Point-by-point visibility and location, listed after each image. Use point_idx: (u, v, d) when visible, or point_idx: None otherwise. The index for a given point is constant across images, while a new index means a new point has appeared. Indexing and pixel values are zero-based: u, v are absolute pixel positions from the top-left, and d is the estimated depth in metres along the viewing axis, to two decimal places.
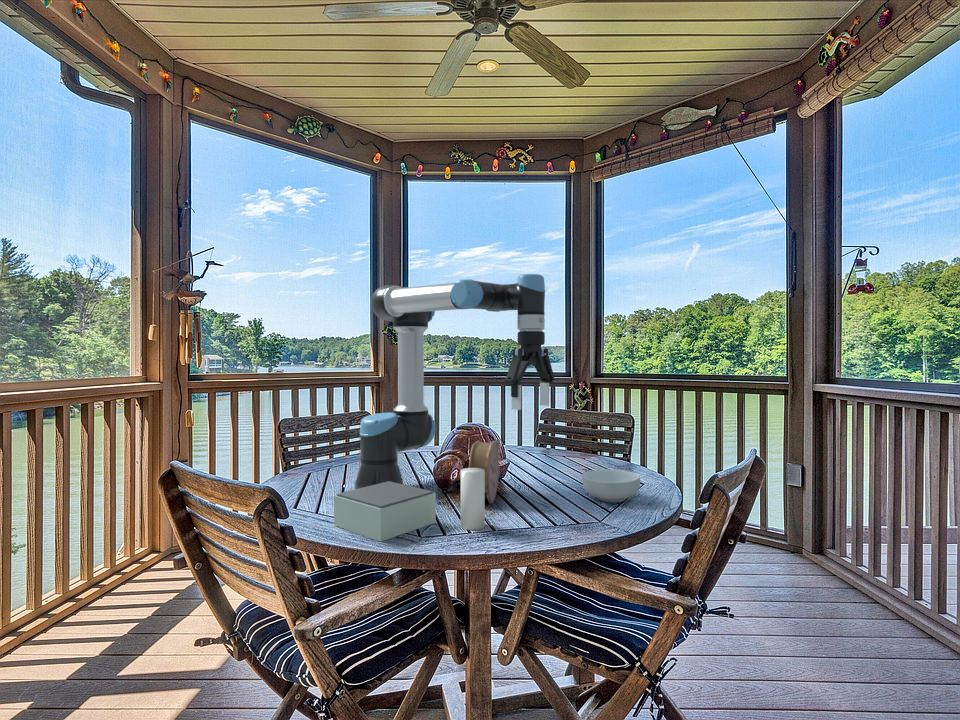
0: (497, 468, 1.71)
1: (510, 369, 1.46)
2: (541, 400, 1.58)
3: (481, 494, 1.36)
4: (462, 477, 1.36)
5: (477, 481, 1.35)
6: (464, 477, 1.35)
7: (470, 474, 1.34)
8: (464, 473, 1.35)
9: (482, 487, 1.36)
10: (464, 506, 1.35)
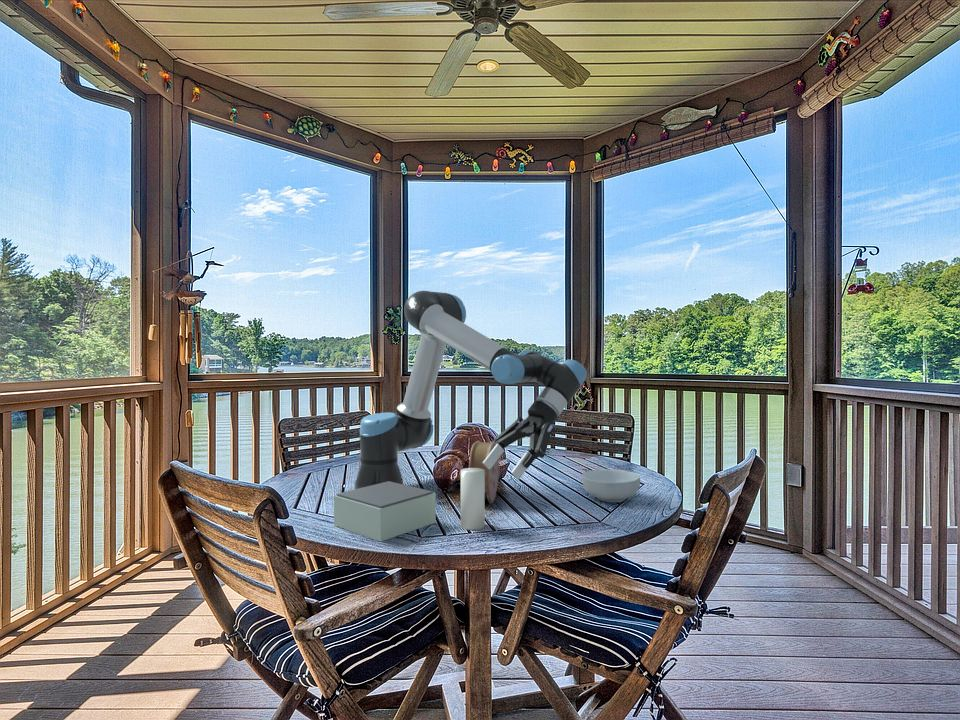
0: (497, 468, 1.71)
1: (543, 441, 1.36)
2: (488, 460, 1.46)
3: (481, 494, 1.36)
4: (462, 477, 1.36)
5: (477, 481, 1.35)
6: (464, 477, 1.35)
7: (470, 474, 1.34)
8: (464, 473, 1.35)
9: (482, 487, 1.36)
10: (464, 506, 1.35)
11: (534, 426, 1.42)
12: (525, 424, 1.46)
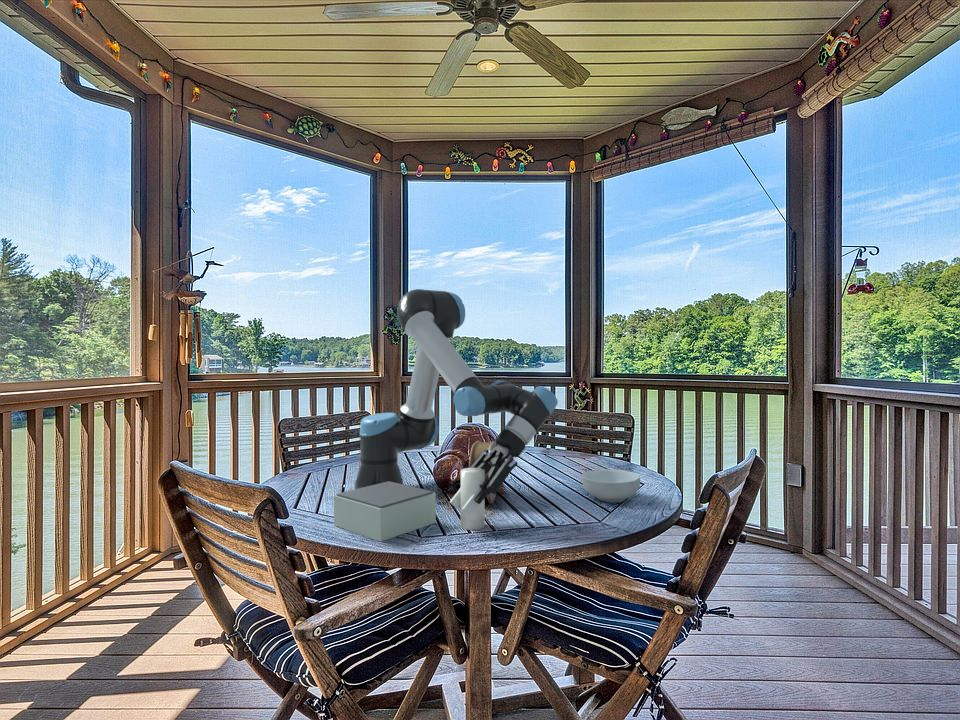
0: None
1: (498, 478, 1.34)
2: (455, 499, 1.38)
3: None
4: (462, 477, 1.36)
5: (477, 480, 1.35)
6: (464, 477, 1.35)
7: (470, 474, 1.34)
8: (464, 473, 1.35)
9: None
10: None
11: (498, 458, 1.38)
12: (493, 453, 1.41)
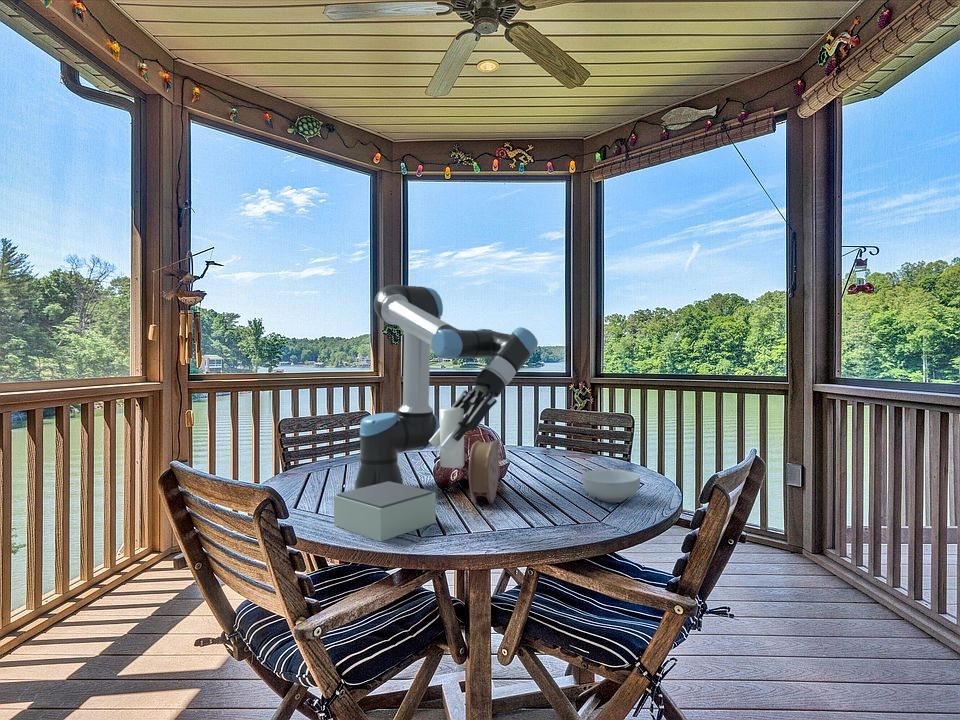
0: (497, 468, 1.71)
1: (477, 415, 1.33)
2: (434, 438, 1.37)
3: None
4: (441, 415, 1.35)
5: (456, 418, 1.34)
6: (443, 414, 1.34)
7: (449, 412, 1.33)
8: (443, 411, 1.34)
9: None
10: None
11: (478, 396, 1.37)
12: (472, 393, 1.40)
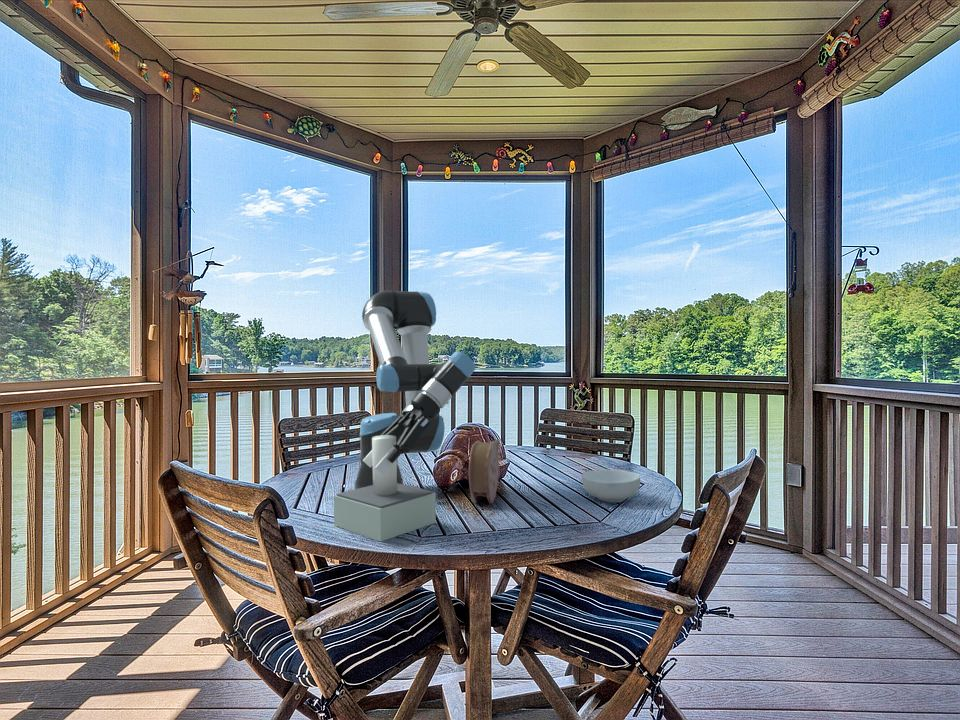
0: (497, 468, 1.71)
1: (411, 436, 1.34)
2: (368, 458, 1.41)
3: None
4: (373, 444, 1.37)
5: (387, 447, 1.36)
6: (374, 443, 1.36)
7: (380, 441, 1.36)
8: (374, 440, 1.36)
9: None
10: (375, 473, 1.37)
11: (412, 419, 1.40)
12: (407, 416, 1.43)
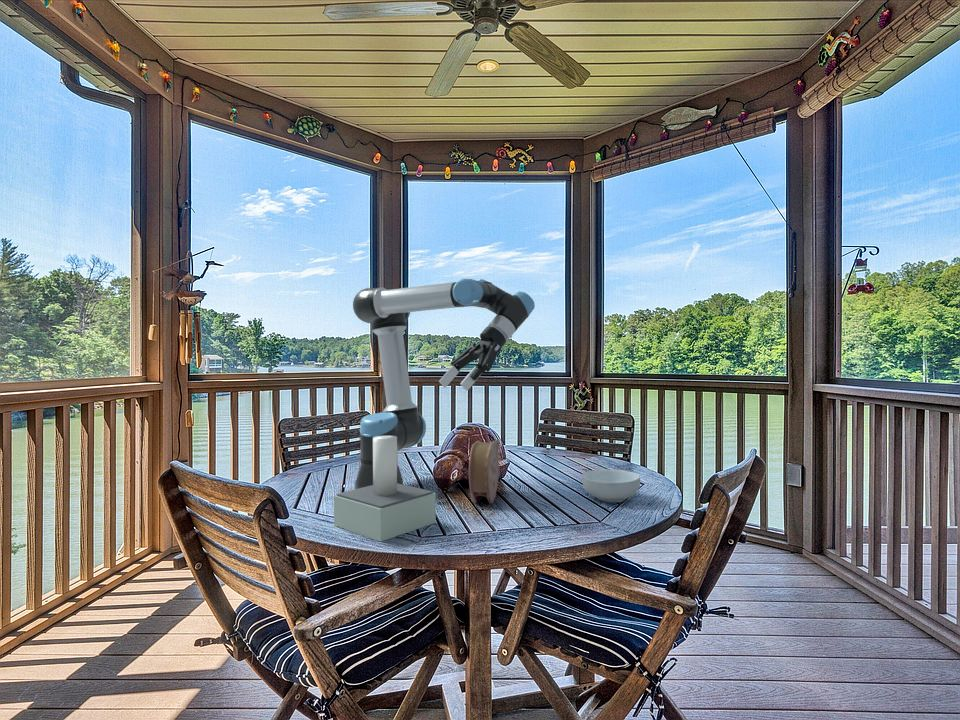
0: (497, 468, 1.71)
1: (489, 358, 1.53)
2: (443, 379, 1.63)
3: (393, 460, 1.37)
4: (373, 444, 1.37)
5: (388, 447, 1.36)
6: (375, 443, 1.37)
7: (381, 440, 1.36)
8: (375, 439, 1.37)
9: (393, 453, 1.37)
10: (375, 472, 1.37)
11: (484, 347, 1.59)
12: (477, 347, 1.63)
